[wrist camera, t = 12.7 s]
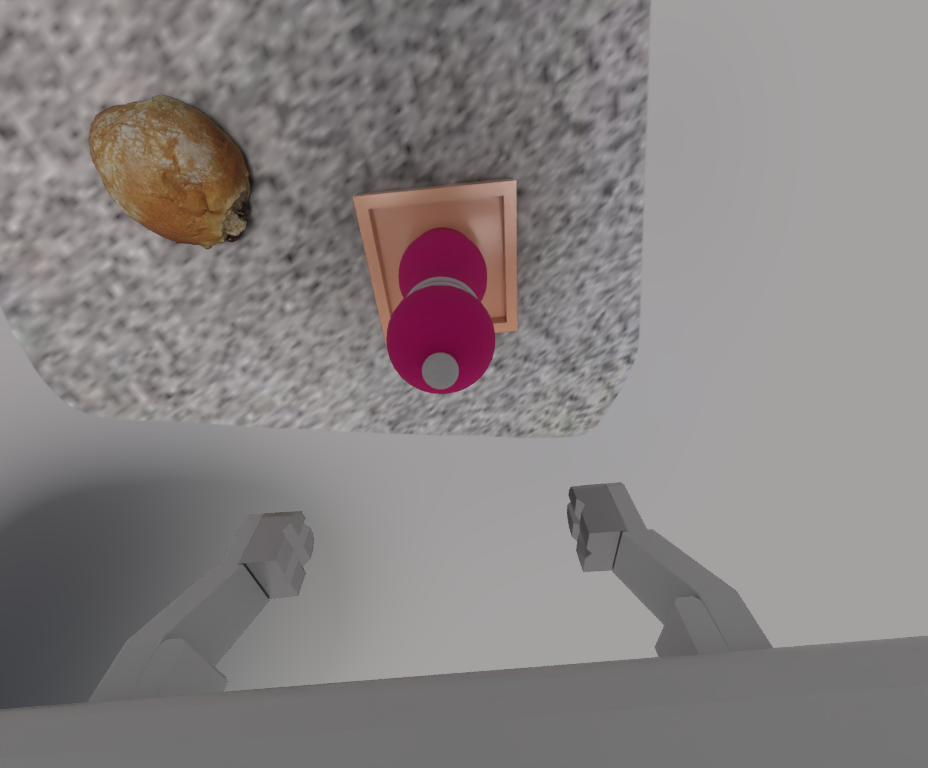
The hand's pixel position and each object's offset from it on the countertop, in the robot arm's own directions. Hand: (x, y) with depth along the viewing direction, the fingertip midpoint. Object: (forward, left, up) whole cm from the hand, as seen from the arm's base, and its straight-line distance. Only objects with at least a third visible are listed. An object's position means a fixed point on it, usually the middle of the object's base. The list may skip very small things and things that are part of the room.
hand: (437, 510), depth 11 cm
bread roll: (-9, -19, -28) cm, 35 cm away
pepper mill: (0, 0, -27) cm, 27 cm away
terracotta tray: (0, 0, -28) cm, 28 cm away
